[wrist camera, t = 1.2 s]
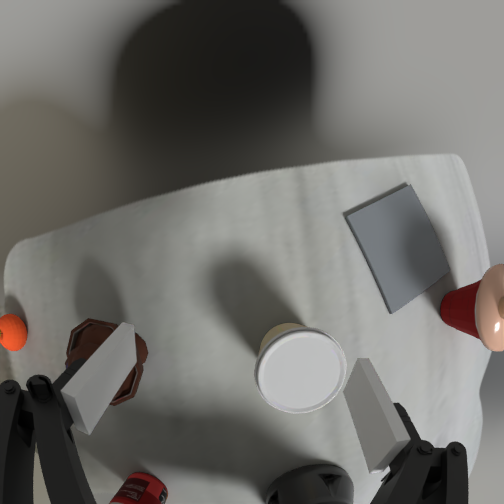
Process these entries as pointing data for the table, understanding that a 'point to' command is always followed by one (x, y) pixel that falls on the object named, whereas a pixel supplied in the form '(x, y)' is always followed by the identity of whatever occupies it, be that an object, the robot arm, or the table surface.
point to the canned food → (141, 490)
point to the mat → (399, 246)
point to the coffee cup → (299, 368)
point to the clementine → (12, 332)
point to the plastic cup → (461, 309)
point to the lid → (491, 308)
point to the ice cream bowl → (91, 338)
